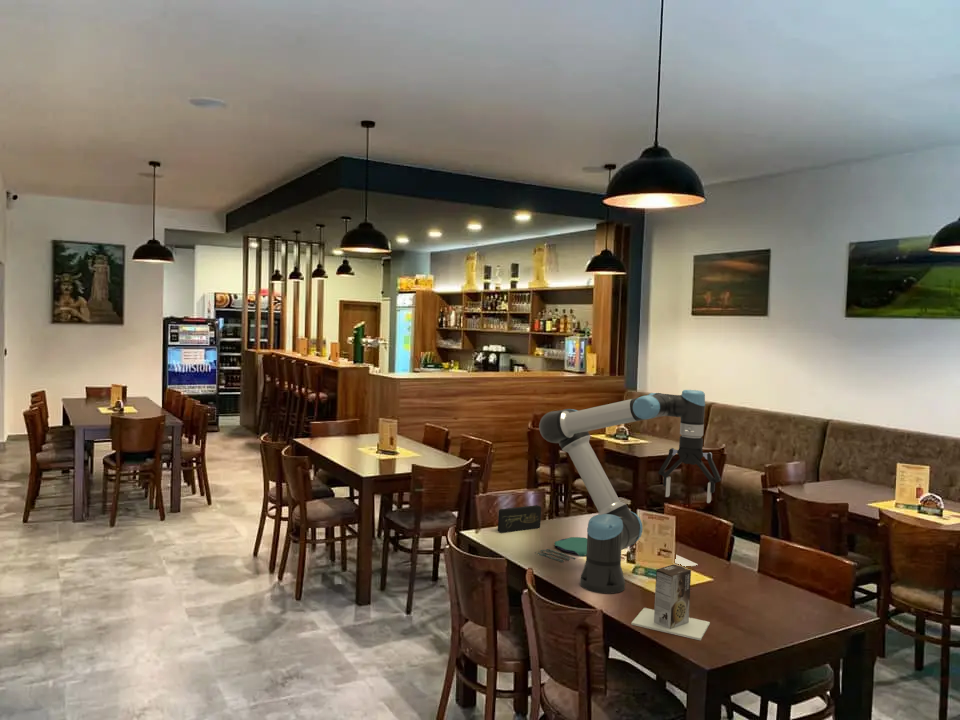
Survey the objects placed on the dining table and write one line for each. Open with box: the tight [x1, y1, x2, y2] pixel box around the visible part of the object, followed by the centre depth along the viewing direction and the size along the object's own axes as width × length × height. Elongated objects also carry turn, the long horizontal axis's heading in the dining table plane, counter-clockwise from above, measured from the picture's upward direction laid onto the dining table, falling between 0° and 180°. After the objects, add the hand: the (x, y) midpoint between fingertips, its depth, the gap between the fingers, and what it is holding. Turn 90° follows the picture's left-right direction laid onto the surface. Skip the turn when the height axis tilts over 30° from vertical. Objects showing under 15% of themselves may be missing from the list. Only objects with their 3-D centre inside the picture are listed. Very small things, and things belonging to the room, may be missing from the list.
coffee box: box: [653, 563, 692, 629], centre depth 215 cm, size 9×6×16 cm
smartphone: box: [674, 554, 699, 568], centre depth 279 cm, size 7×1×15 cm
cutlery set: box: [534, 536, 587, 563], centre depth 286 cm, size 20×30×2 cm, turn 131°
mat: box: [631, 607, 711, 641], centre depth 216 cm, size 20×14×1 cm
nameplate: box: [497, 504, 542, 534], centre depth 312 cm, size 21×2×10 cm, turn 121°
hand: (687, 499), depth 242 cm, fingers open, 13 cm apart
